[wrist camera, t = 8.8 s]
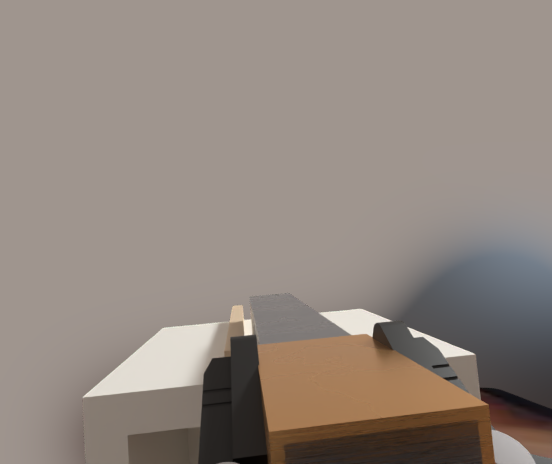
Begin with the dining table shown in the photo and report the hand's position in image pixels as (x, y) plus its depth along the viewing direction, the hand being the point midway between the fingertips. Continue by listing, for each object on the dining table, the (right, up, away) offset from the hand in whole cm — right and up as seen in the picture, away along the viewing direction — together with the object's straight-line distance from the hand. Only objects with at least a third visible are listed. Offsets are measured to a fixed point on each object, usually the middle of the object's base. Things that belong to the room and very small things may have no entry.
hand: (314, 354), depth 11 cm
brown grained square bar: (0, -3, +6) cm, 7 cm away
